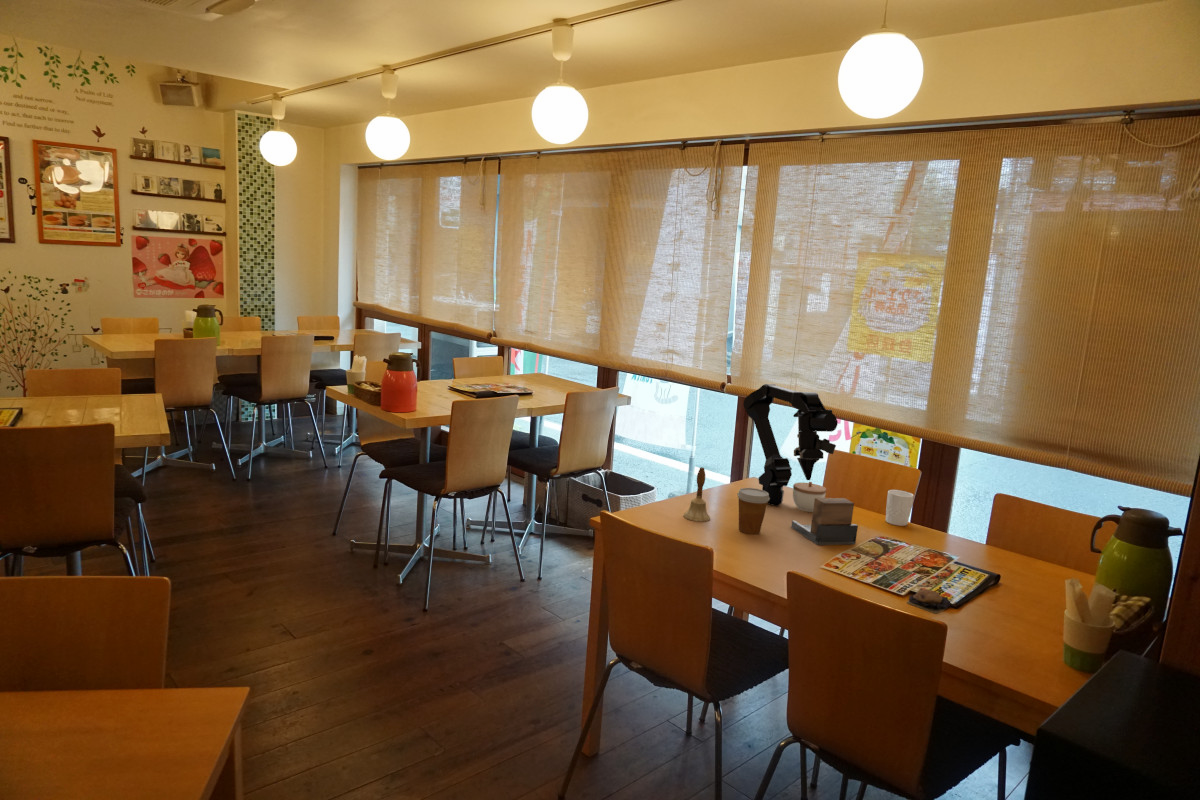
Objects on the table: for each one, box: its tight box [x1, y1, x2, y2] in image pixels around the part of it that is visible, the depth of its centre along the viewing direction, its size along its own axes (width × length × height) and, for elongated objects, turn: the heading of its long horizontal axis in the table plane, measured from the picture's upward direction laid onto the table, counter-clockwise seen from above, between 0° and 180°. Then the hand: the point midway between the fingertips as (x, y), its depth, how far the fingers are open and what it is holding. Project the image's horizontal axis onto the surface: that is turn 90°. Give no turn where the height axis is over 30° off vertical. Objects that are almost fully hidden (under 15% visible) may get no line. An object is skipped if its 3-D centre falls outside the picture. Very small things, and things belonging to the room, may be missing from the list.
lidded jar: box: [792, 481, 827, 513], centre depth 255 cm, size 11×11×9 cm
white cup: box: [885, 489, 914, 527], centre depth 249 cm, size 8×8×10 cm
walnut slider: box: [810, 497, 855, 534], centre depth 225 cm, size 5×10×11 cm, turn 106°
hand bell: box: [682, 467, 711, 523], centre depth 235 cm, size 8×8×16 cm
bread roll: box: [906, 588, 952, 615], centre depth 185 cm, size 11×8×4 cm
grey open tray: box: [790, 520, 859, 546], centre depth 229 cm, size 15×13×6 cm
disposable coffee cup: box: [737, 487, 770, 535], centre depth 227 cm, size 10×10×12 cm
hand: (808, 480), depth 244 cm, fingers closed
